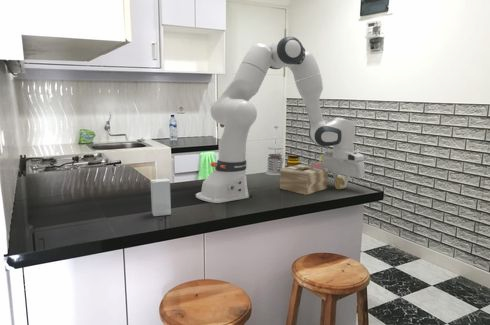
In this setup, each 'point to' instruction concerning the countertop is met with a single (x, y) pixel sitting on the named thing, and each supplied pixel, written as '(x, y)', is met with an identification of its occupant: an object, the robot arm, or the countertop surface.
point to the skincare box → (160, 197)
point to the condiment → (292, 160)
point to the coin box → (303, 179)
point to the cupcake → (317, 163)
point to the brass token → (340, 182)
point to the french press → (274, 160)
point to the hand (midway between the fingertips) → (340, 184)
